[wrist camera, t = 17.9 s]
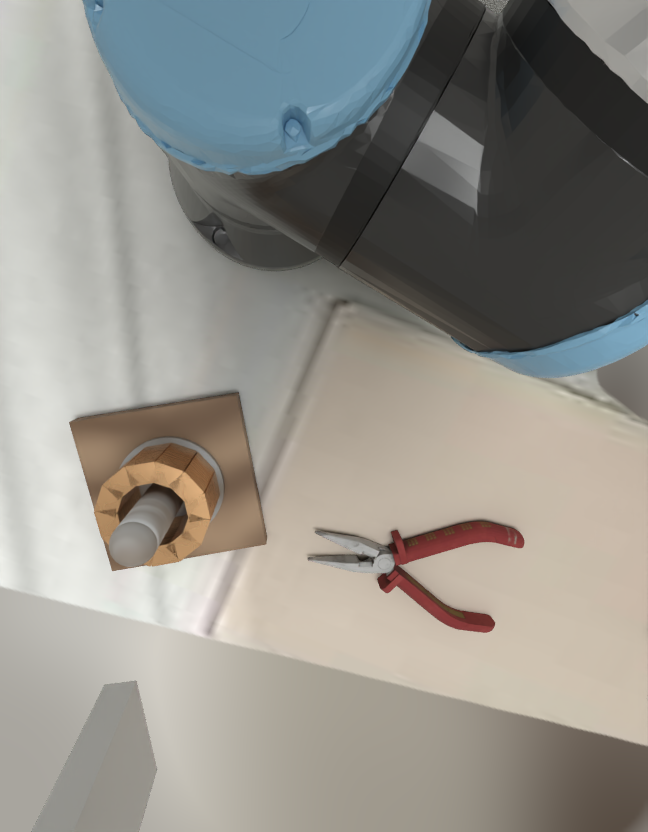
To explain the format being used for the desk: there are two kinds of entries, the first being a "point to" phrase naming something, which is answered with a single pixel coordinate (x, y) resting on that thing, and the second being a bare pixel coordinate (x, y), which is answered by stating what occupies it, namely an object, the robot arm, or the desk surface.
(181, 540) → the light wood ring
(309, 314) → the desk surface
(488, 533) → the pliers
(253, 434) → the desk surface
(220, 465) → the bobbin stand
